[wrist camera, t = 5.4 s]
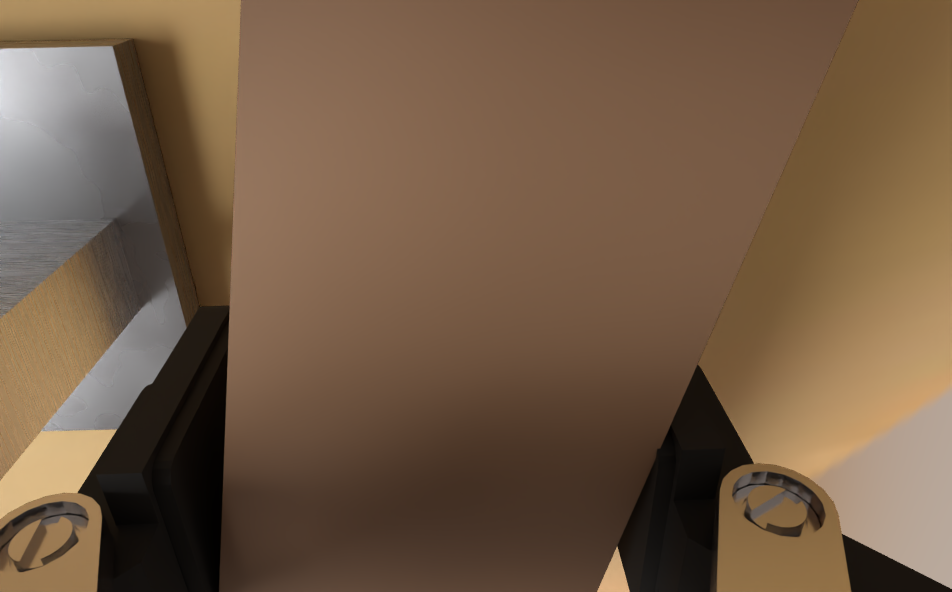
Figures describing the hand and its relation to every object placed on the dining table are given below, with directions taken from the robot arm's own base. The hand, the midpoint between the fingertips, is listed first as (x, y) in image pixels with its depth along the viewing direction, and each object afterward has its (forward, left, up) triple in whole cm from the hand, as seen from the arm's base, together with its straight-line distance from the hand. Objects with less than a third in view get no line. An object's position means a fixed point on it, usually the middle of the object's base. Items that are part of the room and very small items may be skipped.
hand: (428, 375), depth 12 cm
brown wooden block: (0, 0, -2) cm, 2 cm away
